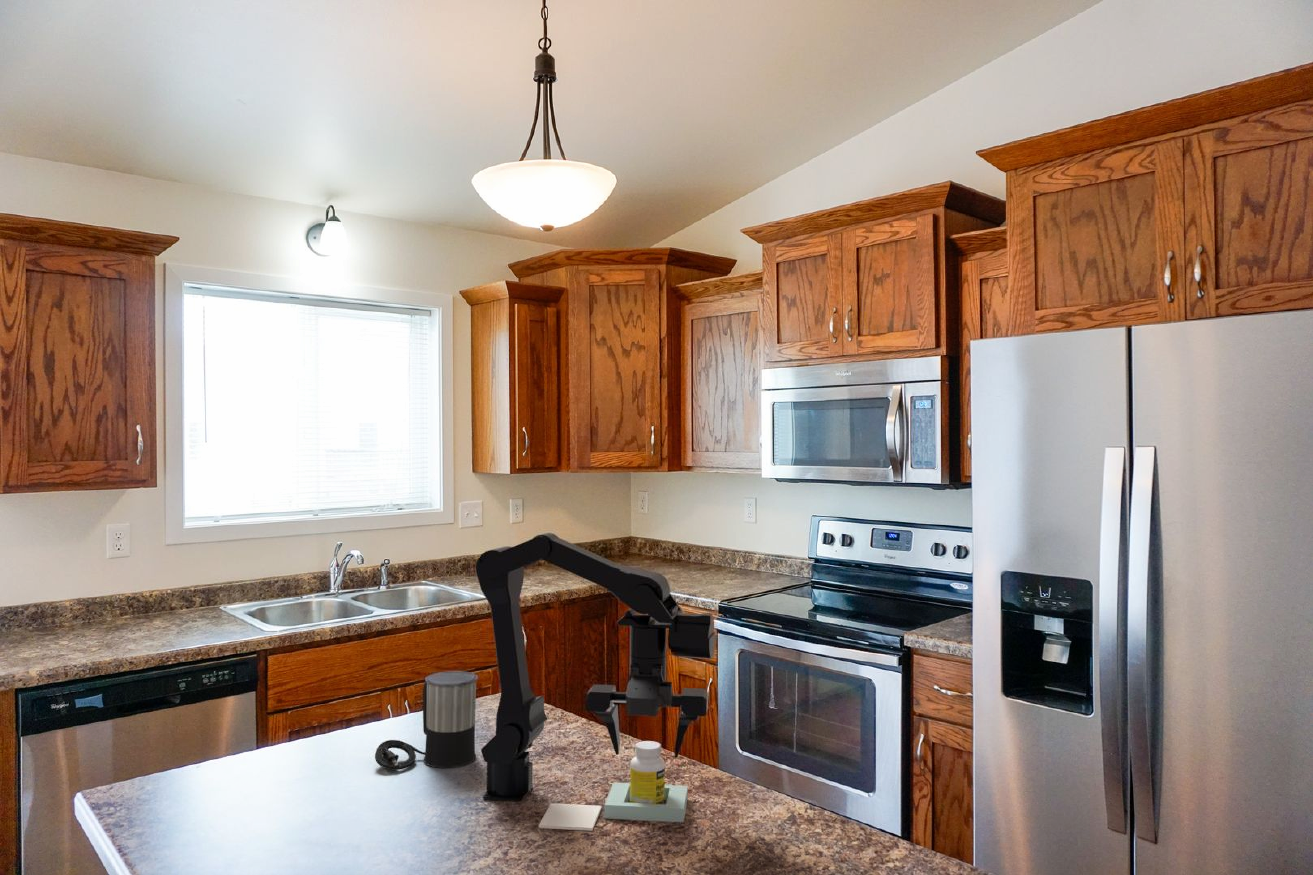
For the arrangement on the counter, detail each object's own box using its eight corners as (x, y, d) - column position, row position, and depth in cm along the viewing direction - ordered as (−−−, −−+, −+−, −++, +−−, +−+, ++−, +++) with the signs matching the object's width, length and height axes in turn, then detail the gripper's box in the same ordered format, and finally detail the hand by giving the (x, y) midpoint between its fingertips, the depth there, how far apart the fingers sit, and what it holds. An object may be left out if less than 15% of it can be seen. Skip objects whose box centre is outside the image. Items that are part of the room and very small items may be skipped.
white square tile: (538, 827, 126) (538, 824, 126) (550, 805, 134) (550, 803, 134) (592, 830, 125) (592, 827, 125) (601, 808, 133) (601, 805, 133)
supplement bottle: (660, 816, 130) (661, 751, 130) (626, 813, 131) (626, 749, 131) (667, 802, 135) (668, 740, 136) (634, 799, 136) (634, 737, 137)
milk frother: (487, 757, 155) (488, 675, 155) (420, 785, 142) (421, 695, 142) (432, 742, 163) (433, 664, 163) (363, 767, 150) (365, 682, 150)
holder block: (604, 818, 129) (604, 804, 129) (613, 794, 138) (613, 782, 138) (683, 822, 128) (683, 808, 128) (687, 798, 137) (687, 785, 137)
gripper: (579, 664, 127) (577, 771, 126) (705, 669, 125) (704, 777, 125) (592, 648, 138) (591, 745, 138) (708, 652, 136) (707, 751, 136)
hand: (646, 755), depth 134 cm, fingers open, 9 cm apart
